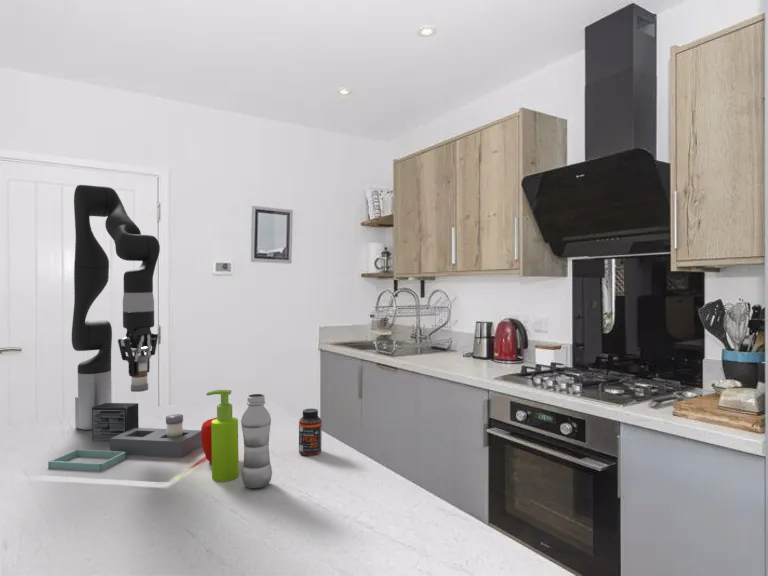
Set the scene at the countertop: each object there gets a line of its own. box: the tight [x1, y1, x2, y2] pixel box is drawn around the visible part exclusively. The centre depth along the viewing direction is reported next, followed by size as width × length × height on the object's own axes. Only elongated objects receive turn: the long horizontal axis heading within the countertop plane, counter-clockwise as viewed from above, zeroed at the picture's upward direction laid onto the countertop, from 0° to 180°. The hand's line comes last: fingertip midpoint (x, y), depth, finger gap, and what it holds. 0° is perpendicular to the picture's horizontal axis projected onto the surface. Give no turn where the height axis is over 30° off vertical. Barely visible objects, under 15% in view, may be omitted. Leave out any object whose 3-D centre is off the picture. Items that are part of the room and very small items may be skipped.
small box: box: [91, 402, 140, 442], centre depth 146 cm, size 11×6×10 cm, turn 84°
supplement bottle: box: [298, 408, 323, 457], centre depth 135 cm, size 6×6×11 cm
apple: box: [200, 417, 217, 464], centre depth 129 cm, size 9×9×11 cm
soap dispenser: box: [205, 389, 240, 483], centre depth 119 cm, size 6×7×20 cm
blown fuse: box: [130, 354, 149, 393], centre depth 136 cm, size 4×4×9 cm
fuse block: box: [109, 413, 202, 459], centre depth 135 cm, size 20×10×10 cm, turn 81°
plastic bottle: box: [240, 393, 273, 489], centre depth 113 cm, size 6×7×20 cm
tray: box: [47, 448, 127, 472], centre depth 126 cm, size 14×9×2 cm, turn 81°
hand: (139, 373), depth 136 cm, fingers closed on blown fuse, 4 cm apart
